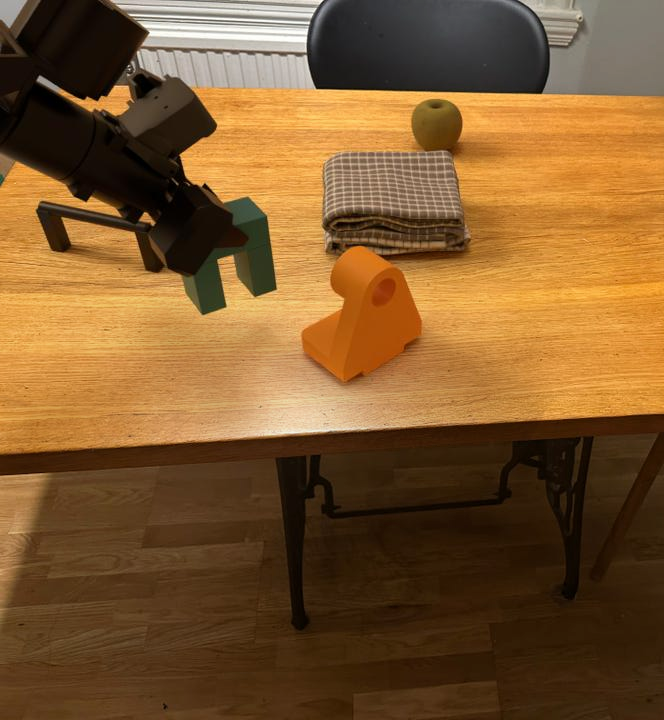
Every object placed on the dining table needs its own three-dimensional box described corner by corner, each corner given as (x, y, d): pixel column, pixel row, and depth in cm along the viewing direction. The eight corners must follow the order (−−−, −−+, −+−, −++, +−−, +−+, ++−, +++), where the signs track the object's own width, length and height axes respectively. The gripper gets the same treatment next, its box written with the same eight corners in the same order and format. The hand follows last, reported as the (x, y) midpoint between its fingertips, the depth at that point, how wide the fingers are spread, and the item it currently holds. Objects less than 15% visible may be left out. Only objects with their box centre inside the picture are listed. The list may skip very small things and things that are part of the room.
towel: (323, 197, 95) (319, 144, 90) (455, 196, 99) (459, 145, 93) (324, 262, 85) (319, 206, 79) (472, 259, 88) (477, 205, 83)
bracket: (376, 308, 79) (374, 217, 71) (421, 340, 76) (425, 248, 68) (299, 352, 73) (287, 257, 65) (344, 388, 70) (338, 293, 62)
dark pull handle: (158, 273, 80) (145, 227, 76) (50, 249, 82) (32, 204, 77) (165, 265, 81) (153, 220, 77) (59, 242, 83) (42, 197, 79)
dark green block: (202, 315, 65) (184, 239, 60) (185, 293, 67) (167, 217, 62) (277, 289, 69) (267, 215, 63) (259, 269, 71) (248, 195, 66)
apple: (400, 144, 109) (401, 99, 104) (441, 133, 113) (443, 89, 108) (430, 164, 105) (432, 119, 100) (470, 152, 109) (474, 108, 104)
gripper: (181, 103, 45) (338, 207, 59) (90, 14, 55) (241, 120, 68) (88, 239, 47) (262, 311, 60) (15, 128, 57) (178, 210, 70)
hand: (235, 230), depth 65 cm, fingers closed on dark green block, 4 cm apart
